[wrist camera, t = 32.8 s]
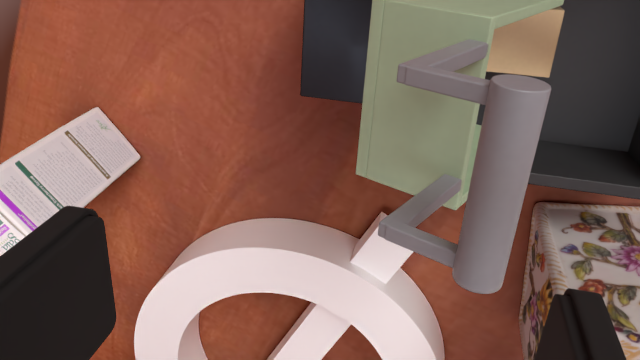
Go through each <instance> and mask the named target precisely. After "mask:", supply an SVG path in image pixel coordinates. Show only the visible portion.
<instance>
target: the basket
mask: <svg viewBox="0 0 640 360" xmlns="http://www.w3.org/2000/svg"><path fill="white" fill-rule="evenodd" d="M560 7H561V8H562V9H563V10H564V11H565V12H564V17H563V21H562V25H561V29H560V34H559V38H558V42H557V46H556V51H555V55H554V59H553V64H552V68H551V72H550V76H549V78H546V77H536V76H528V77H532V78H536V79H539V80H542V81H544V82H546V83H548V84H549V85H550V86H551V92H550V96H549V100H548V104H547V108H546V112H545V116H544V120H543V124H542V128H541V132H540V136H539V140H538V144H537V148H536V152H535V156H534V160H533V164H532V168H531V172H530V176H529V180H528V184H533V185H540V186H548V187H555V188H562V189H569V190H576V191H583V192H591V193H598V194H605V195H612V196H619V197H627V198H634V199H640V0H564V3H563V5H561V6H560ZM505 74H506V73H496V72H486V75H485V79H487V80H491V78H492V77H494V76H497V75H505ZM511 75H516V74H511ZM522 76H526V75H522ZM485 106H486V105H483V104H480V106H479V111H478V116H477V122H476V124H478V125H481V126H482V121H483V116H484V111H485Z"/></svg>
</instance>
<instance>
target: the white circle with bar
mask: <svg viewBox="0 0 640 360" xmlns="http://www.w3.org/2000/svg"><path fill="white" fill-rule="evenodd" d="M387 216H388V215H386V214H385V213H383V212H381V213H380V214H379V215H378V217H377V218H376V219H375V221H374V222H373V223H372V224H371V226H370V227H369V228H368V230H367V231H366V232H365V233H364V235H363V236H362V237H361V239H358V238H356V237H353V236H351V235H349V234H347V233H344V232H342V231H339V230H337V229H334V228H331V227H328V226H324V225H321V224H317V223H313V222H308V221H302V220H296V219H285V218H260V219H251V220H245V221H240V222H236V223H232V224H229V225H226V226H223V227H220V228H218V229H215V230H213V231H211V232H209V233H207V234H205V235H203V236H202V237H200V238H199V239H197V240H196V241H194V242H193V243H192V244H190V245H189V246H188V247H187V248H186V249H185V250H184V251H183V252H182V253H181V254H180V255H179V256H178V257H177V259H176V260H175V261H174V262H173V264H172V265H171V266H170V268H169V269H168V270H167V271H166V273H165V274H164V275H163V276H162V278H161V279H160V280H159V282H158V283H157V284H156V285H155V287H154V288H153V289H152V291H151V292H150V293H149V295H148V296H147V298H146V299H145V301H144V303H143V305H142V307H141V310H140V312H139V315H138V318H137V322H136V327H135V335H134V349H135V358H136V360H208V359H207V357H206V355H205V352H204V350H203V347H202V344H201V340H200V335H199V314H200V311H201V310H202V309H204V308H205V307H207V306H208V305H210V304H212V303H214V302H216V301H218V300H221V299H223V298H226V297H229V296H233V295H238V294H244V293H254V292H266V293H278V294H284V295H289V296H294V297H298V298H301V299H304V300H307V301H310V302H311V303H310V305H309V306H308V307H307V308H306V310H305V311H304V312H303V314H302V315H301V316H300V317H299V319H298V320H297V321H296V323H295V324H294V325H293V326H292V328H291V329H290V330H289V331H288V333H287V334H286V335H285V337H284V338H283V339H282V340H281V342H280V343H279V344H278V346H277V347H276V348H275V349H274V351H273V352H272V353H271V355H270V356H269V357H268V358H267V360H321V359H322V358H323V357H324V356H325V354H326V353H327V352H328V351H329V350H330V349H331V347H332V346H333V345H334V344H335V343H336V342H337V340H338V339H339V338H340V337H341V336H342V335H343V333H344V332H345V331H346V330H347V329H348V328H349V326H350V325H351V324H352V325H353V326H354V327H355V328H357V329H358V330H359V331H360V332H361V333H362V334H363V335H364V336H365V337H366V338H367V339H368V340H369V341H370V343H371V344H372V345H373V346H374V348H375V349H376V350H377V352H378V353H379V355H380V356H381V358H382V360H445V354H444V343H443V338H442V333H441V330H440V327H439V323H438V321H437V318H436V316H435V314H434V312H433V310H432V308H431V306H430V304H429V302H428V301H427V299H426V297H425V296H424V294H423V293H422V292H421V290H420V289H419V287H418V286H417V285H416V284H415V283H414V281H413V280H412V279H411V278H410V277H409V276H408V275H407V274H406V273H405V272H404V271H403V270H402V269H401V268H400V267H401V266H402V265H403V263H404V262H405V261H406V260H407V259H408V258H409V256H410V255H411V254H412V253H413V251H411V250H409V249H406V248H404V247H402V246H399V245H397V244H394V243H392V242H390V241H387V240H385V239H384V238H382V237H380V236H378V228H379V222H380V221H381V220H383V219H384V218H385V217H387Z"/></svg>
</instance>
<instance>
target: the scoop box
mask: <svg viewBox="0 0 640 360" xmlns="http://www.w3.org/2000/svg"><path fill="white" fill-rule="evenodd" d="M563 3H564V0H372V9H371V20H370V30H369V41H368V51H367V61H366V72H365V82H364V92H363V103H362V113H361V123H360V134H359V144H358V155H357V165H356V174H357V175H359V176H362V177H366V178H367V179H370V180H373V181H376V182H378V183H381V184H384V185H387V186H389V187H392V188H395V189H398V190H400V191H403V192H406V193H409V194H411V195H414V197H413V198H411V199H410V200H408V201H407V202H406V203H404V204H403V205H402V206H400V207H399V208H398V209H396V210H395V211H393V212H392V213H391V214H389V215H388V216H387V217H385V218H384V219H383V220H381V221H380V222H379V228H378V236H380V237H382V238H384V239H385V240H387V241H390V242H392V243H394V244H397V245H399V246H402V247H404V248H406V249H409V250H411V251H413V252H416V253H418V254H420V255H423V256H425V257H428V258H430V259H432V260H435V261H437V262H439V263H442V264H444V265H447V266H449V267H451V268H453V272H452V275H453V278H454V280H455V282H456V283H457V284H458V285H459V286H461V287H462V288H464V289H466V290H468V291H471V292H475V293H480V294H490V293H494V292H497V291H498V290H499V289H500V288H501V287H502V285H503V281H504V277H505V273H506V269H507V265H508V261H509V257H510V253H511V249H512V245H513V241H514V237H515V233H516V229H517V225H518V221H519V217H520V213H521V208H522V204H523V200H524V196H525V192H526V188H527V184H528V180H529V176H530V172H531V168H532V164H533V160H534V156H535V152H536V148H537V144H538V140H539V136H540V132H541V128H542V124H543V120H544V116H545V112H546V108H547V104H548V100H549V96H550V92H551V86H550V85H549V84H548V83H546V82H544V81H542V80H539V79H536V78H532V77H528V76H522V75H511V74H505V75H497V76H494V77H492V78H491V80H487V79H485V75H486V70H487V65H488V60H489V54H490V49H491V44H492V39H493V34H494V29H497V28H499V27H502V26H505V25H508V24H511V23H513V22H516V21H519V20H522V19H525V18H527V17H530V16H533V15H536V14H539V13H542V12H544V11H547V10H550V9H553V8H556V7H558V6H561V5H563ZM480 104H483V105H486V106H485V111H484V116H483V121H482V126H481V125H478V124H476V122H477V116H478V111H479V106H480ZM466 201H467V202H466ZM465 202H466V207H465V212H464V217H463V222H462V227H461V232H460V237H459V242H458V245H457V244H454V243H452V242H449V241H447V240H444V239H442V238H439V237H437V236H434V235H432V234H429V233H427V232H424V231H422V230H419V229H417V228H415V227H417V226H418V225H419V224H420V223H421V222H423V221H424V220H425V219H426V218H428V217H429V216H430V215H431V214H432V213H434V212H435V211H436V210H437V209H438V208H440V207H441V206H444V207H447V208H450V209H453V210H457V209H458V208H459V207H460V206H461V205H462V204H463V203H465Z"/></svg>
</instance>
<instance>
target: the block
mask: <svg viewBox="0 0 640 360" xmlns="http://www.w3.org/2000/svg"><path fill="white" fill-rule="evenodd" d="M564 12H565V11H564V10H563V9H562V8H561V7H560V6H558V7H556V8H553V9H550V10H547V11H544V12H542V13H539V14H536V15H533V16H530V17H527V18H525V19H522V20H519V21H516V22H513V23H511V24H508V25H505V26H502V27H499V28H497V29H494V34H493V39H492V44H491V49H490V54H489V60H488V65H487V70H486V72H496V73H506V74H516V75H526V76H536V77H546V78H549V76H550V72H551V68H552V64H553V59H554V55H555V51H556V46H557V42H558V38H559V34H560V29H561V25H562V21H563V17H564Z"/></svg>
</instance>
